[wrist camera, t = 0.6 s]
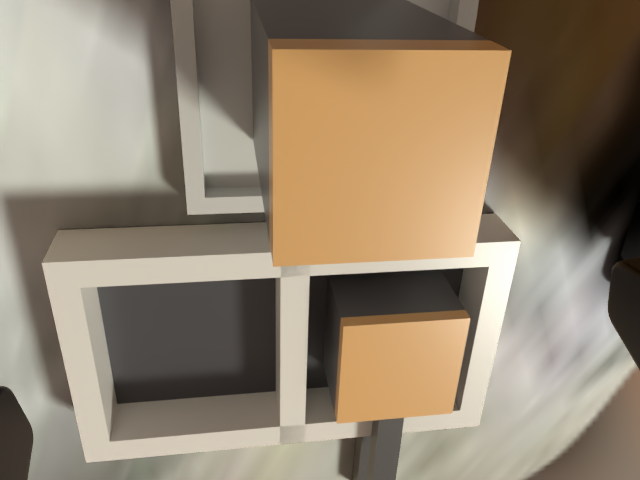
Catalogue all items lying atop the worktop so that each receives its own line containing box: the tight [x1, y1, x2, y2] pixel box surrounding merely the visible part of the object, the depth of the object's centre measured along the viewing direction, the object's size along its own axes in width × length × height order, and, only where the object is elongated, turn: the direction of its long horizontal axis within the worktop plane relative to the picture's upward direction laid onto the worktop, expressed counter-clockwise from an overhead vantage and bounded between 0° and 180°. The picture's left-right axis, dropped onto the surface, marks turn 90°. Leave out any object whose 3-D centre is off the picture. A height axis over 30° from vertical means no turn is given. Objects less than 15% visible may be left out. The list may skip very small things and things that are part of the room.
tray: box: [170, 0, 479, 215], centre depth 19 cm, size 9×9×1 cm
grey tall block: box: [250, 0, 512, 267], centre depth 15 cm, size 4×4×8 cm
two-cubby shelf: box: [42, 214, 521, 463], centre depth 23 cm, size 16×9×2 cm, turn 88°
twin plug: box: [323, 269, 471, 480], centre depth 25 cm, size 4×12×4 cm, turn 178°
